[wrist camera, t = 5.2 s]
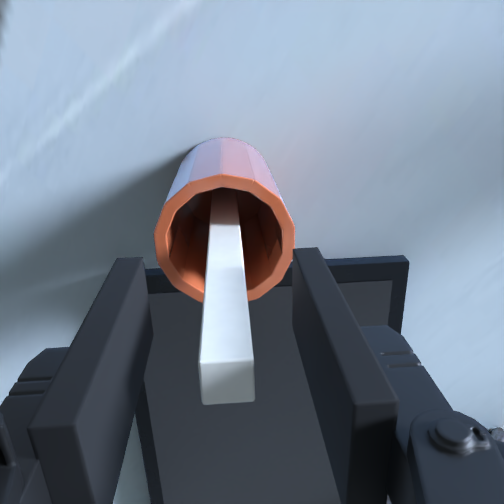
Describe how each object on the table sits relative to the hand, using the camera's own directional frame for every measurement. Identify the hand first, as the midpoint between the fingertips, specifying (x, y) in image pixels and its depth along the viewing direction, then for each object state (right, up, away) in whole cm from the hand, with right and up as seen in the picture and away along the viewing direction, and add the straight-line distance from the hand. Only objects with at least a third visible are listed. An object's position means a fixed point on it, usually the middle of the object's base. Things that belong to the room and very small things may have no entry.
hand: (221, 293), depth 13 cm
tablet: (+2, -10, +19) cm, 21 cm away
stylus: (-1, +5, +11) cm, 12 cm away
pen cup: (-1, +5, +12) cm, 13 cm away
